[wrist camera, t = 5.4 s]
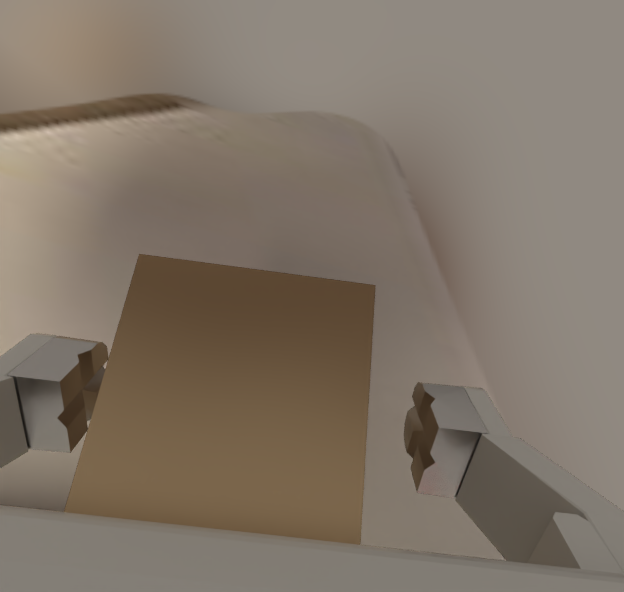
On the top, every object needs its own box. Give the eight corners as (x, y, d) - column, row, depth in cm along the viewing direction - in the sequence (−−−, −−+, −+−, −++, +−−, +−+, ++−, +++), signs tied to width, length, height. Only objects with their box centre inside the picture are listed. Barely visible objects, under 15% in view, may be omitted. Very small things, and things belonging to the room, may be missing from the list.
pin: (306, 484, 14) (359, 557, 5) (204, 472, 14) (60, 525, 5) (316, 382, 16) (375, 285, 6) (223, 370, 15) (138, 254, 6)
